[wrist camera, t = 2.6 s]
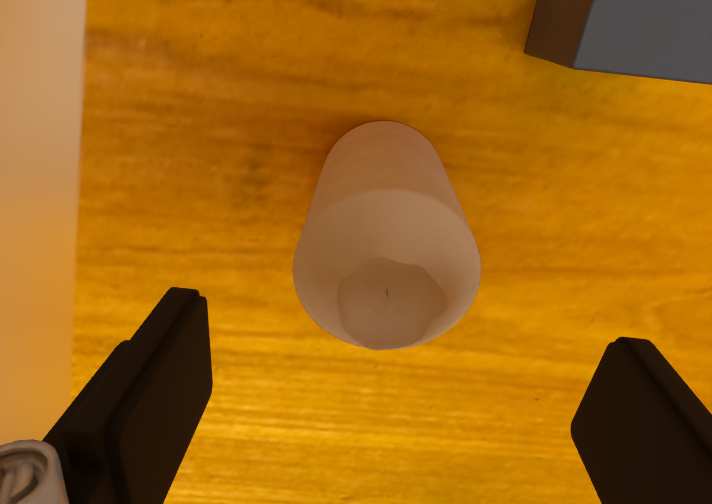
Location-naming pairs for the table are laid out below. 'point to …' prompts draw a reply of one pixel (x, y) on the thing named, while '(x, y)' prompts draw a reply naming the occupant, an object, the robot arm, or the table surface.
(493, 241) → the table surface
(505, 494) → the table surface
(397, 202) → the candle
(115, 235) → the table surface
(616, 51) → the block
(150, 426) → the robot arm
